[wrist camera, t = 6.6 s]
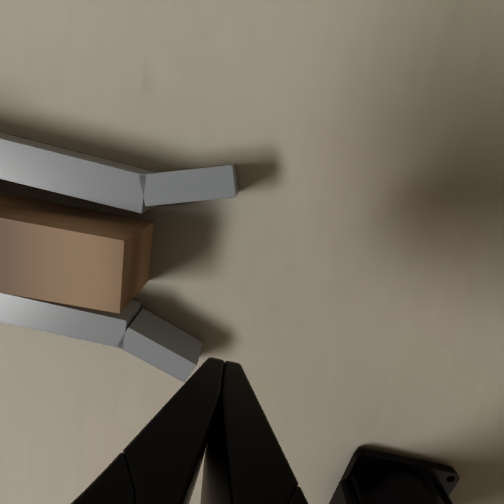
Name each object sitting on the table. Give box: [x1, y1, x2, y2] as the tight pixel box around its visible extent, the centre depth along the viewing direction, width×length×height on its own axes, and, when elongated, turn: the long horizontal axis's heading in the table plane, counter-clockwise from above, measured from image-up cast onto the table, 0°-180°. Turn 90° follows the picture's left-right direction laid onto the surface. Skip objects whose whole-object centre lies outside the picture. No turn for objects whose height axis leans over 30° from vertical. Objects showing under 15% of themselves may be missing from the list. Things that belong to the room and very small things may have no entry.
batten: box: [0, 193, 154, 314], centre depth 12 cm, size 10×3×4 cm, turn 79°
